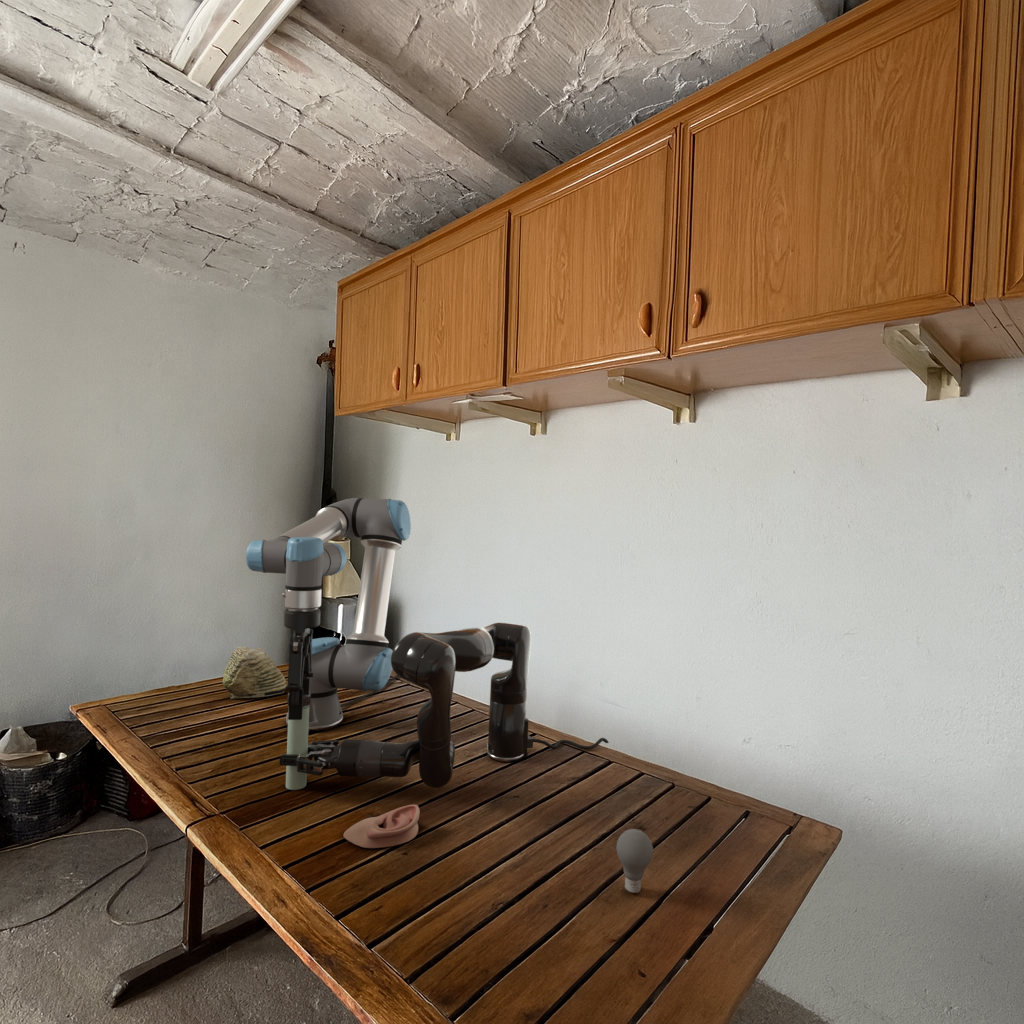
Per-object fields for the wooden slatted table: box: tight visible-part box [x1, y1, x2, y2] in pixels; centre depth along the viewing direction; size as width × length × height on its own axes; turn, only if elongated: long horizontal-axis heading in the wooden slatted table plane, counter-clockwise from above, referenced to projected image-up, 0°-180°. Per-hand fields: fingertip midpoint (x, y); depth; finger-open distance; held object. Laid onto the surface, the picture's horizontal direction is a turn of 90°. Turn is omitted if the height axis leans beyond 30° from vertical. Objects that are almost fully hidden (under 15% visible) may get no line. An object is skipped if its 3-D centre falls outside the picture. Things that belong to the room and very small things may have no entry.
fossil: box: [222, 646, 288, 699], centre depth 198 cm, size 9×18×15 cm, turn 132°
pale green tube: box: [285, 705, 309, 791], centre depth 138 cm, size 4×4×20 cm
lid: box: [286, 690, 311, 707], centre depth 138 cm, size 5×5×2 cm
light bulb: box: [615, 828, 654, 894], centre depth 106 cm, size 6×6×10 cm
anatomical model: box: [342, 804, 421, 849], centre depth 120 cm, size 13×4×12 cm
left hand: (298, 712), depth 138 cm, fingers open, 7 cm apart
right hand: (284, 755), depth 138 cm, fingers closed on pale green tube, 4 cm apart
